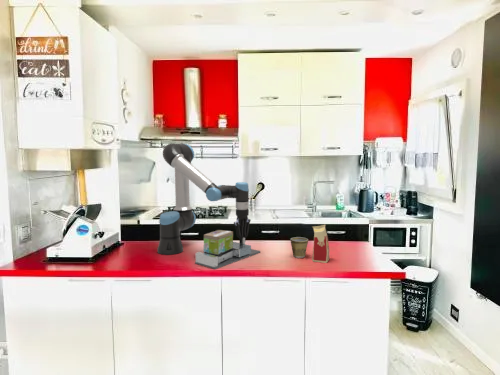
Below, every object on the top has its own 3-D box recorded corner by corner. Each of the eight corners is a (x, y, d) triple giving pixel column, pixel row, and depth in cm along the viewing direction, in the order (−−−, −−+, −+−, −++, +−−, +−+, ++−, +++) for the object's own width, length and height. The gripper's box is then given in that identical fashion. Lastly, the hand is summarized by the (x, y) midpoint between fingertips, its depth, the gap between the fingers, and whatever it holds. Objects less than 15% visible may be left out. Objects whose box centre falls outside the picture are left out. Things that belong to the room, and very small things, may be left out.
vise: (195, 263, 188) (194, 252, 187) (241, 248, 217) (240, 238, 217) (215, 269, 178) (215, 257, 178) (260, 252, 208) (260, 242, 207)
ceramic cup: (306, 259, 194) (306, 241, 193) (288, 258, 197) (288, 240, 196) (310, 253, 206) (310, 236, 205) (293, 251, 209) (293, 235, 208)
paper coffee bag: (329, 258, 196) (330, 223, 194) (327, 263, 187) (328, 226, 186) (313, 256, 199) (313, 222, 197) (310, 261, 190) (310, 225, 188)
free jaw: (220, 252, 202) (220, 245, 202) (232, 249, 210) (232, 241, 210) (239, 257, 193) (239, 249, 193) (251, 253, 202) (251, 245, 201)
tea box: (219, 264, 183) (218, 236, 182) (203, 261, 188) (202, 234, 186) (233, 256, 196) (233, 230, 195) (218, 254, 201) (218, 229, 200)
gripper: (239, 210, 197) (240, 252, 199) (254, 208, 207) (254, 247, 209) (229, 209, 201) (230, 249, 204) (244, 206, 212) (244, 245, 214)
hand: (242, 248), depth 206 cm, fingers closed
